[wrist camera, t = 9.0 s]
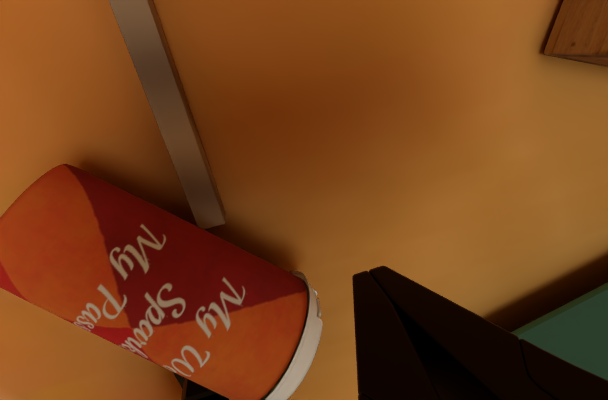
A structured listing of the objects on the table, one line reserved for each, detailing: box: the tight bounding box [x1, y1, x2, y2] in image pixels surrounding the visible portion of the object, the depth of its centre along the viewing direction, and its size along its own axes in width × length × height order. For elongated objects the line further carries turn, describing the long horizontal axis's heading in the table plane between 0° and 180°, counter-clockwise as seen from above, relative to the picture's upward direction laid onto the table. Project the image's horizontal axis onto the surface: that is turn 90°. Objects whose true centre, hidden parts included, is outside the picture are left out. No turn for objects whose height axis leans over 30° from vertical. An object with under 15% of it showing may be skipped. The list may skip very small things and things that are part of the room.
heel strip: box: [109, 0, 225, 229], centre depth 17 cm, size 16×2×2 cm, turn 11°
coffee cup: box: [0, 164, 323, 400], centre depth 18 cm, size 8×8×15 cm
